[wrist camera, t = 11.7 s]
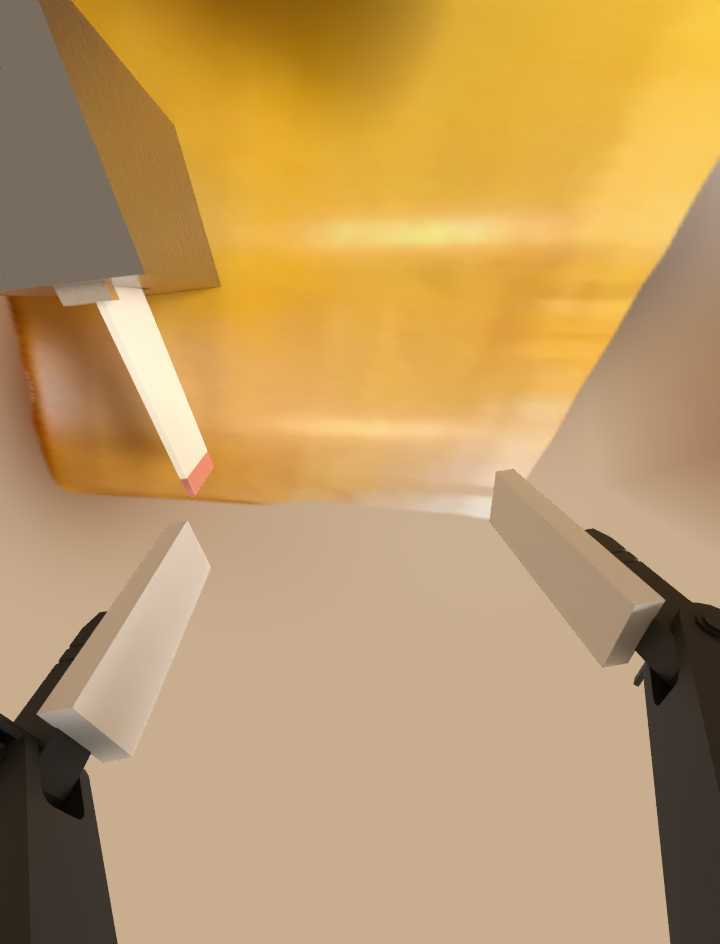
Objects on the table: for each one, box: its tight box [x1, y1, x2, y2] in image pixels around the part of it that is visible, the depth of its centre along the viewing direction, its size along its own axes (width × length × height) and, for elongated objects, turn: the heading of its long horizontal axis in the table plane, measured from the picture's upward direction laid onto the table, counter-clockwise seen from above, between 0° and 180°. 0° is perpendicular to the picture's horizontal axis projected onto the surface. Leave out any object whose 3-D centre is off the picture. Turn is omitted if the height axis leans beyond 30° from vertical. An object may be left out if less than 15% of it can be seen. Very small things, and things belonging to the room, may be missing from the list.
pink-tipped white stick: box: [96, 285, 214, 497], centre depth 27 cm, size 18×1×6 cm, turn 7°
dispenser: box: [0, 0, 221, 306], centre depth 22 cm, size 13×10×16 cm
